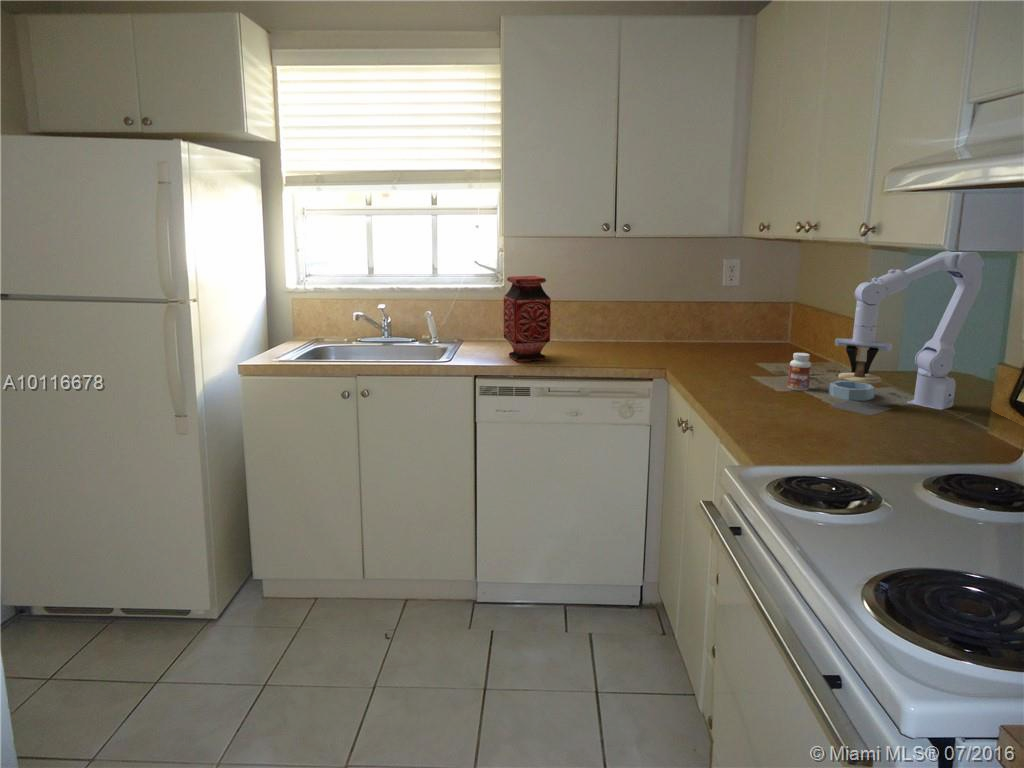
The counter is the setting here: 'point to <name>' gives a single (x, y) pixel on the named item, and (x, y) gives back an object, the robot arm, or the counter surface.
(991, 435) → the counter surface
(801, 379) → the pill bottle
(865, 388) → the bowl
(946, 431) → the counter surface
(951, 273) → the robot arm
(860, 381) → the lid
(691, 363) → the counter surface
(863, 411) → the mat
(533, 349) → the vase
